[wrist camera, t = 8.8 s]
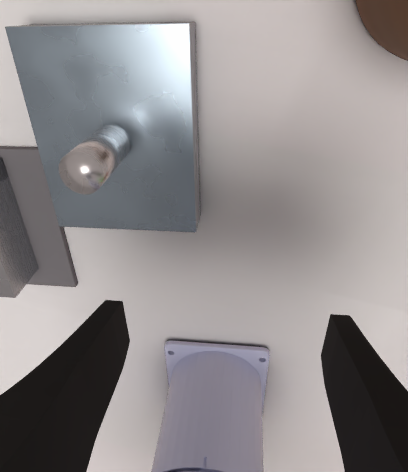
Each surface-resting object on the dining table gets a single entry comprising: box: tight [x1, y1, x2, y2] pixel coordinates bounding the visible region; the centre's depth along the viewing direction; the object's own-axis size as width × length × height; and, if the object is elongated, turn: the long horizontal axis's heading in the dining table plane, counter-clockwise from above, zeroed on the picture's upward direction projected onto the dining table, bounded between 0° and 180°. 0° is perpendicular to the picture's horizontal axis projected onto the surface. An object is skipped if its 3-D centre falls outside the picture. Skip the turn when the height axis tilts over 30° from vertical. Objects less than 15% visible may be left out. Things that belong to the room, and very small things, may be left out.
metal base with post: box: [5, 22, 200, 232], centre depth 17 cm, size 10×8×6 cm
